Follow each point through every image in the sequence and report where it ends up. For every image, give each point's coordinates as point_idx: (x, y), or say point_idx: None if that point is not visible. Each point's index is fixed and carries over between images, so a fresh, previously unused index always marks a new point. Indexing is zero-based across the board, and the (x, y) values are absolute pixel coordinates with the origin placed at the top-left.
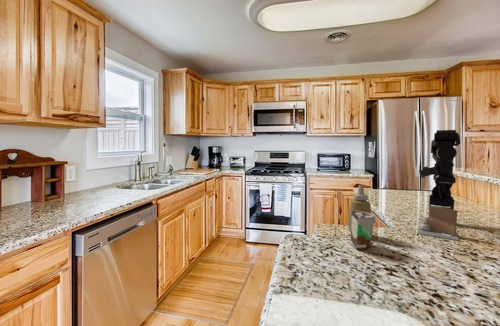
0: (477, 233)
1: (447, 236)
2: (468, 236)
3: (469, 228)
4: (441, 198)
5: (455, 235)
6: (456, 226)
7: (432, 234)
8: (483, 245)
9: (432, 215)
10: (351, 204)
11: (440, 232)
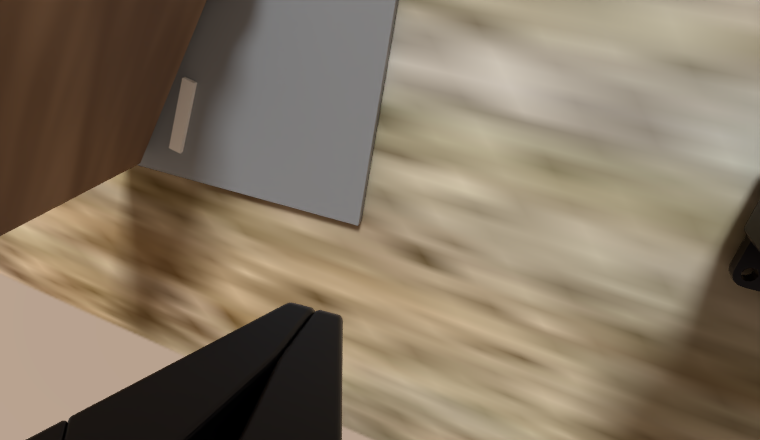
0: (423, 376)
1: None
2: (261, 264)
3: (621, 404)
4: (278, 320)
5: (175, 162)
6: (85, 190)
7: None
8: (61, 257)
9: None
10: None
11: (201, 58)
